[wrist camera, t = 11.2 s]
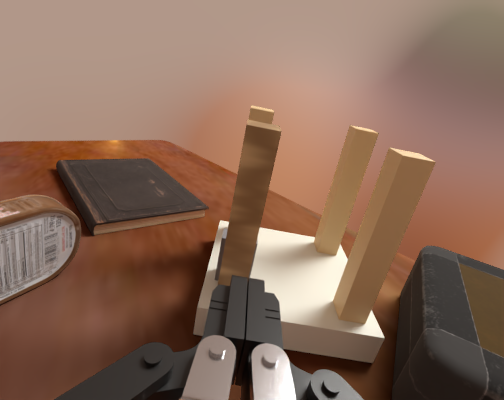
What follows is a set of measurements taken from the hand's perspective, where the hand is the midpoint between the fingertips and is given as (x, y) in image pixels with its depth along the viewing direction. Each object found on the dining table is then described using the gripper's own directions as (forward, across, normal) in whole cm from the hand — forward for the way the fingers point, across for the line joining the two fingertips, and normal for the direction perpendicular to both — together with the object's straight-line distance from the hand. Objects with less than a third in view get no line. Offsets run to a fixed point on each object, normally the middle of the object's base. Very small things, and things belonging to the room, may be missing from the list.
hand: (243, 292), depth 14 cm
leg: (+11, 0, +9) cm, 14 cm away
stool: (+16, -5, +12) cm, 21 cm away
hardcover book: (+34, +18, +13) cm, 41 cm away
